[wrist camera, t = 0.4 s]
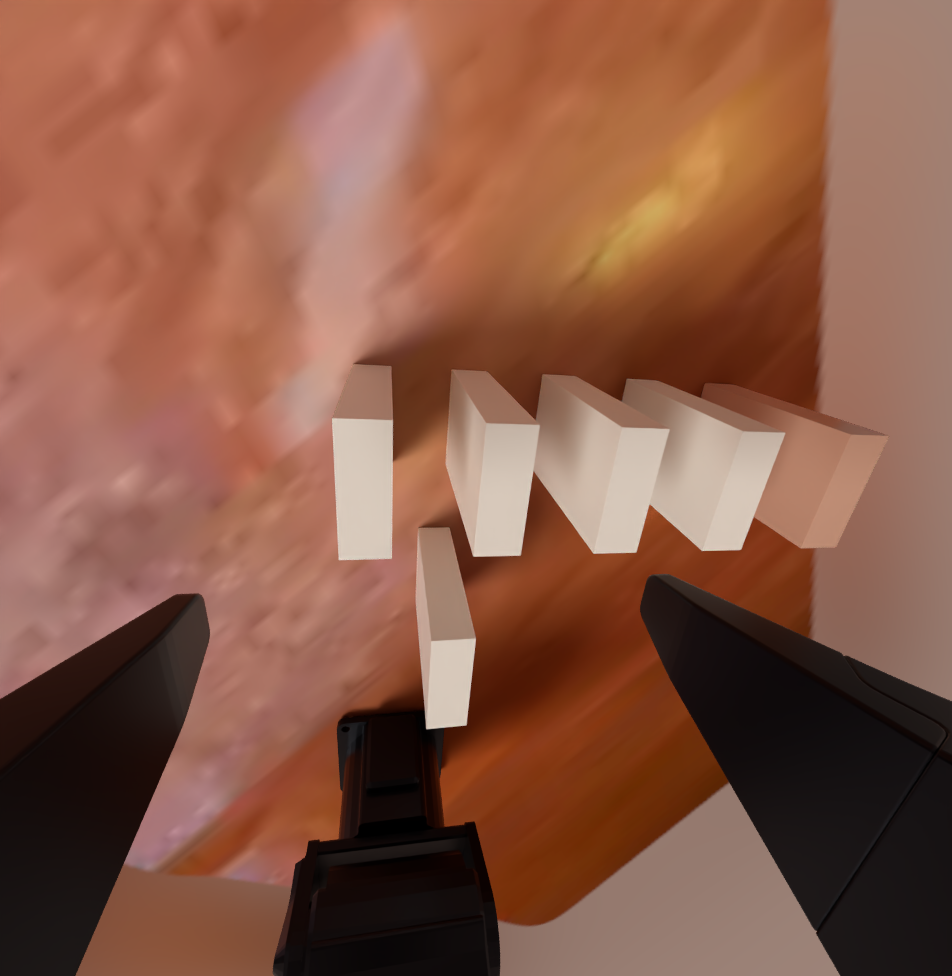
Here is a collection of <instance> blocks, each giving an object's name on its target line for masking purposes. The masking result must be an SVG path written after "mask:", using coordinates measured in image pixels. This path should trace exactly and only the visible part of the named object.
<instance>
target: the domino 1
mask: <svg viewBox="0 0 952 976" xmlns="http://www.w3.org/2000/svg"><path fill="white" fill-rule="evenodd" d="M332 427H333V448H334V469H335V490H336V511H337V532H338V553H339V560H362V559H392V477H393V403H392V370H391V366H381V365H363V364H353V365H352V368H351V370H350V373H349V375H348V378H347V381H346V383H345V386H344V388H343V391H342V394H341V396H340V399H339V401H338V404H337V407H336V409H335V412H334V415H333V417H332Z"/></svg>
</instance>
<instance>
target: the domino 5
mask: <svg viewBox="0 0 952 976" xmlns="http://www.w3.org/2000/svg"><path fill="white" fill-rule="evenodd" d="M622 402H623V403H624V404H626V405H628V406H630V407H632V408H633V409H635V410H637V411H639V412H640V413H642V414H644V415H646V416H648V417H649V418H651V419H653V420H655V421H656V422H658V423H660V424H662V425H664V426H665V427H667V428H669V429H670V430H669V434H668V437H667V441H666V445H665V448H664V452H663V456H662V460H661V463H660V467H659V471H658V474H657V478H656V482H655V485H654V489H653V493H652V496H651V500H650V505H651V506H652V507H654V508H655V509H656V510H657V511H658V512H659V513H660V514H661V515H663V516H664V517H665V518H666V519H667V520H668V521H669V522H670V523H672V524H673V525H674V526H675V527H676V528H677V529H678V530H679V531H680V532H682V533H683V534H684V535H685V536H686V537H687V538H688V539H689V540H691V541H692V542H693V543H694V544H695V545H696V546H697V547H698V548H700V549H701V550H702V551H718V550H741V548H742V546H743V543H744V540H745V538H746V535H747V533H748V530H749V527H750V525H751V522H752V520H753V517H754V514H755V512H756V509H757V506H758V504H759V501H760V499H761V496H762V493H763V491H764V488H765V485H766V483H767V480H768V478H769V475H770V472H771V470H772V467H773V465H774V462H775V459H776V457H777V454H778V451H779V449H780V446H781V444H782V441H783V438H784V436H785V432H783V431H780V430H778V429H775V428H773V427H770V426H768V425H765V424H763V423H760V422H758V421H756V420H753V419H751V418H748V417H746V416H743V415H741V414H738V413H736V412H734V411H731V410H729V409H726V408H724V407H721V406H719V405H716V404H714V403H711V402H709V401H707V400H704V399H702V398H699V397H697V396H694V395H692V394H689V393H687V392H685V391H682V390H680V389H677V388H675V387H672V386H670V385H667V384H665V383H662V382H660V381H658V380H641V379H627V380H626V384H625V389H624V393H623V398H622Z"/></svg>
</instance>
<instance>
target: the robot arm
mask: <svg viewBox="0 0 952 976" xmlns="http://www.w3.org/2000/svg"><path fill="white" fill-rule="evenodd" d="M640 612H641V616H642V619H643V621H644V623H645V625H646V628H647V630H648V632H649V634H650V636H651V639H652V641H653V643H654V645H655V647H656V650H657V652H658V654H659V656H660V659H661V661H662V663H663V665H664V667H665V669H666V672H667V674H668V676H669V678H670V680H671V681H672V683H673V685H674V687H675V689H676V690H677V692H678V694H679V696H680V697H681V699H682V701H683V703H684V704H685V706H686V708H687V710H688V711H689V713H690V715H691V717H692V718H693V720H694V722H695V723H696V725H697V727H698V729H699V730H700V732H701V734H702V736H703V737H704V739H705V741H706V743H707V744H708V746H709V748H710V750H711V751H712V753H713V755H714V757H715V758H716V760H717V762H718V763H719V765H720V767H721V769H722V770H723V772H724V774H725V776H726V777H727V779H728V781H729V783H730V784H731V786H732V788H733V790H734V791H735V793H736V795H737V796H738V798H739V800H740V802H741V803H742V805H743V807H744V809H745V810H746V812H747V814H748V815H749V817H750V819H751V821H752V822H753V824H754V826H755V828H756V830H757V831H758V833H759V835H760V836H761V838H762V840H763V842H764V843H765V845H766V847H767V848H768V850H769V852H770V854H771V855H772V857H773V859H774V861H775V863H776V864H777V866H778V868H779V869H780V871H781V873H782V875H783V876H784V878H785V880H786V882H787V883H788V885H789V887H790V888H791V890H792V892H793V894H794V896H795V897H796V899H797V901H798V902H799V904H800V906H801V908H802V909H803V911H804V913H805V915H806V916H807V918H808V920H809V922H810V923H811V925H812V927H813V928H814V930H816V931H817V932H816V934H817V936H818V938H819V939H820V941H821V943H822V945H823V947H824V948H825V950H826V952H827V953H828V955H829V957H830V959H831V960H832V962H833V964H834V965H835V967H836V969H837V971H838V973H839V974H840V976H952V701H950V700H947V699H945V698H943V697H940V696H938V695H935V694H933V693H931V692H928V691H926V690H923V689H921V688H919V687H916V686H914V685H912V684H909V683H907V682H905V681H902V680H900V679H898V678H896V677H893V676H891V675H888V674H887V673H884V672H882V671H880V670H878V669H875V668H873V667H871V666H869V665H866V664H864V663H862V662H859V661H858V660H855V659H853V658H851V657H849V656H843V655H842V653H840V652H838V651H835V650H833V649H831V648H829V647H827V646H825V645H822V644H820V643H818V642H816V641H814V640H811V639H809V638H807V637H805V636H803V635H801V634H798V633H796V632H794V631H792V630H790V629H787V628H785V627H783V626H781V625H779V624H776V623H774V622H772V621H770V620H768V619H766V618H763V617H761V616H759V615H757V614H755V613H752V612H750V611H748V610H746V609H744V608H741V607H739V606H737V605H735V604H733V603H731V602H728V601H726V600H724V599H722V598H720V597H717V596H715V595H713V594H711V593H709V592H706V591H704V590H702V589H700V588H698V587H696V586H693V585H691V584H689V583H687V582H685V581H682V580H680V579H678V578H676V577H674V576H671V575H669V574H655V575H651V576H649V577H648V579H647V581H646V585H645V589H644V593H643V597H642V601H641V605H640ZM209 638H210V629H209V623H208V618H207V613H206V607H205V602H204V599H203V597H202V595H200V594H177V595H174V596H172V597H171V598H169V599H167V600H166V601H164V602H162V603H161V604H159V605H157V606H156V607H154V608H152V609H150V610H149V611H147V612H145V613H144V614H142V615H140V616H139V617H137V618H135V619H134V620H132V621H130V622H129V623H127V624H125V625H124V626H122V627H120V628H119V629H117V630H115V631H114V632H112V633H110V634H109V635H107V636H105V637H104V638H102V639H100V640H99V641H97V642H95V643H94V644H92V645H90V646H88V647H87V648H85V649H83V650H82V651H80V652H78V653H77V654H75V655H73V656H72V657H70V658H68V659H67V660H65V661H63V662H62V663H60V664H58V665H57V666H55V667H53V668H52V669H50V670H48V671H47V672H45V673H43V674H41V675H40V676H38V677H36V678H35V679H33V680H31V681H30V682H28V683H26V684H25V685H23V686H21V687H20V688H18V689H16V690H15V691H13V692H11V693H10V694H8V695H6V696H5V697H3V698H1V699H0V976H75V975H76V973H77V971H78V968H79V966H80V964H81V961H82V959H83V957H84V954H85V952H86V950H87V947H88V945H89V943H90V941H91V938H92V935H93V933H94V931H95V929H96V927H97V924H98V922H99V920H100V917H101V915H102V913H103V910H104V908H105V905H106V903H107V901H108V899H109V896H110V894H111V892H112V889H113V887H114V885H115V882H116V880H117V878H118V875H119V873H120V871H121V869H122V866H123V864H124V862H125V859H126V857H127V855H128V852H129V850H130V848H131V845H132V843H133V841H134V838H135V836H136V834H137V831H138V829H139V827H140V824H141V822H142V820H143V817H144V815H145V813H146V810H147V808H148V806H149V804H150V801H151V799H152V797H153V794H154V792H155V790H156V787H157V785H158V783H159V780H160V778H161V776H162V773H163V771H164V769H165V766H166V764H167V762H168V759H169V757H170V755H171V752H172V750H173V748H174V745H175V743H176V741H177V739H178V736H179V734H180V731H181V729H182V726H183V724H184V721H185V718H186V715H187V712H188V709H189V706H190V703H191V699H192V696H193V693H194V690H195V686H196V683H197V680H198V676H199V673H200V670H201V666H202V663H203V660H204V656H205V653H206V650H207V646H208V643H209ZM443 737H444V728H435V729H426V719H425V711H416V712H405V713H394V714H382V715H371V716H360V717H349V718H343V719H341V720H339V722H338V725H337V740H338V756H339V773H340V789H341V790H342V791H343V793H342V805H341V817H340V828H339V839H338V840H330V841H321V842H320V840H311V841H309V842H308V847H307V853H306V856H305V858H304V859H302V860H301V861H299V862H298V863H296V864H295V870H294V877H293V883H292V889H291V895H290V901H289V906H288V910H287V913H286V917H285V921H284V924H283V928H282V932H281V935H280V939H279V943H278V946H277V950H276V954H275V959H274V965H273V975H274V976H500V944H499V932H498V922H497V914H496V908H495V902H494V897H493V893H492V888H491V885H490V881H489V877H488V873H487V869H486V865H485V861H484V857H483V853H482V849H481V845H480V841H479V837H478V833H477V829H476V825H475V822H465V824H464V825H457V826H449V827H444V818H443V808H442V798H441V789H440V774H441V762H442V749H443Z"/></svg>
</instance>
